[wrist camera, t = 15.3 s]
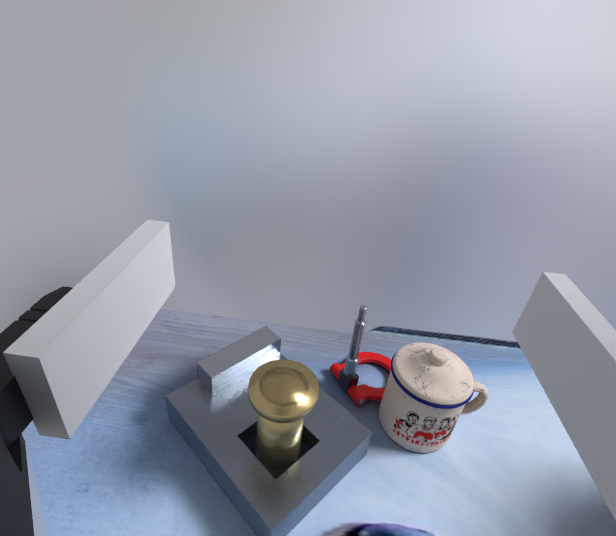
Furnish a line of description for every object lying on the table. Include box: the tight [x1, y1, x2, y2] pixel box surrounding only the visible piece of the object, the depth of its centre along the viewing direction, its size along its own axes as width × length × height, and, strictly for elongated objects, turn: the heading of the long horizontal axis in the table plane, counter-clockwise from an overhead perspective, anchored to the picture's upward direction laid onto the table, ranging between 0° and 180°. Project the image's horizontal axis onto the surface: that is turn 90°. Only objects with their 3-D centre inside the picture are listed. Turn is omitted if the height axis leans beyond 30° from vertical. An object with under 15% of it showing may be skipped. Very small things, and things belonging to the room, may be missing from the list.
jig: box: [166, 326, 373, 536], centre depth 42 cm, size 18×14×6 cm
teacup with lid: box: [379, 342, 489, 453], centre depth 44 cm, size 12×9×12 cm
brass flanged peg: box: [248, 359, 319, 480], centre depth 38 cm, size 6×6×12 cm
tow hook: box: [330, 305, 391, 406], centre depth 49 cm, size 8×13×9 cm
